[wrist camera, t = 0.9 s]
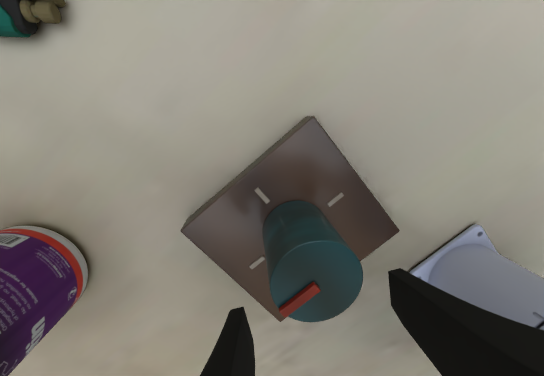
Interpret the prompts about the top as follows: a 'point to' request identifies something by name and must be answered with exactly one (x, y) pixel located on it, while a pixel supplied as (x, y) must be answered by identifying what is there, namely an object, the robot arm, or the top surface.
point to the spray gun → (27, 16)
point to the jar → (309, 263)
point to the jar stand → (280, 189)
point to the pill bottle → (35, 288)
